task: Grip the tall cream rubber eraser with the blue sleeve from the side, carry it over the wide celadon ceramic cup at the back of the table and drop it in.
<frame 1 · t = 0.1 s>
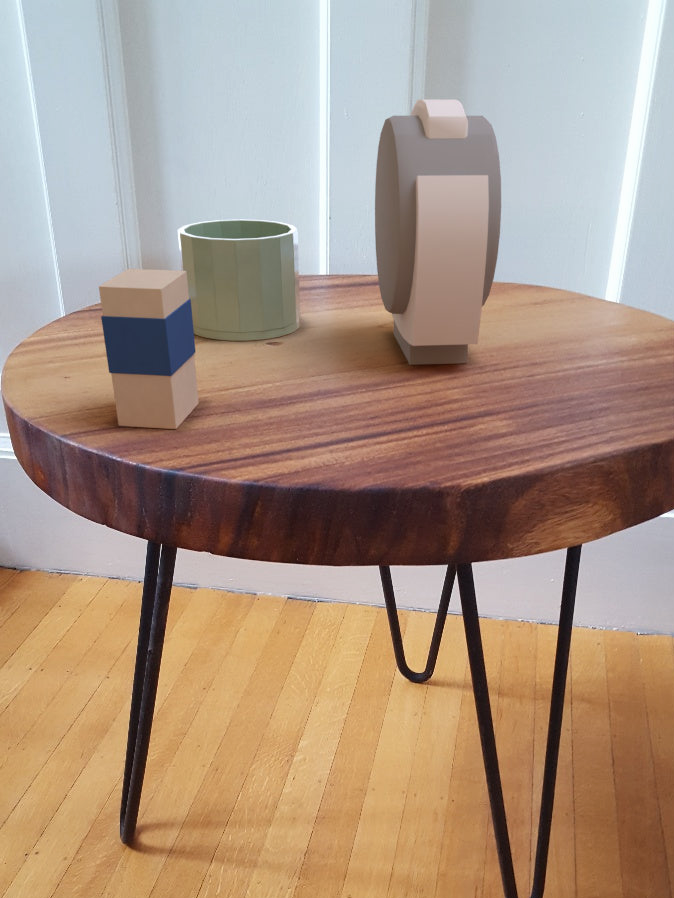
alarm clock: (427, 349, 90), on the table
eraser: (159, 414, 74), on the table
cup: (244, 325, 96), on the table
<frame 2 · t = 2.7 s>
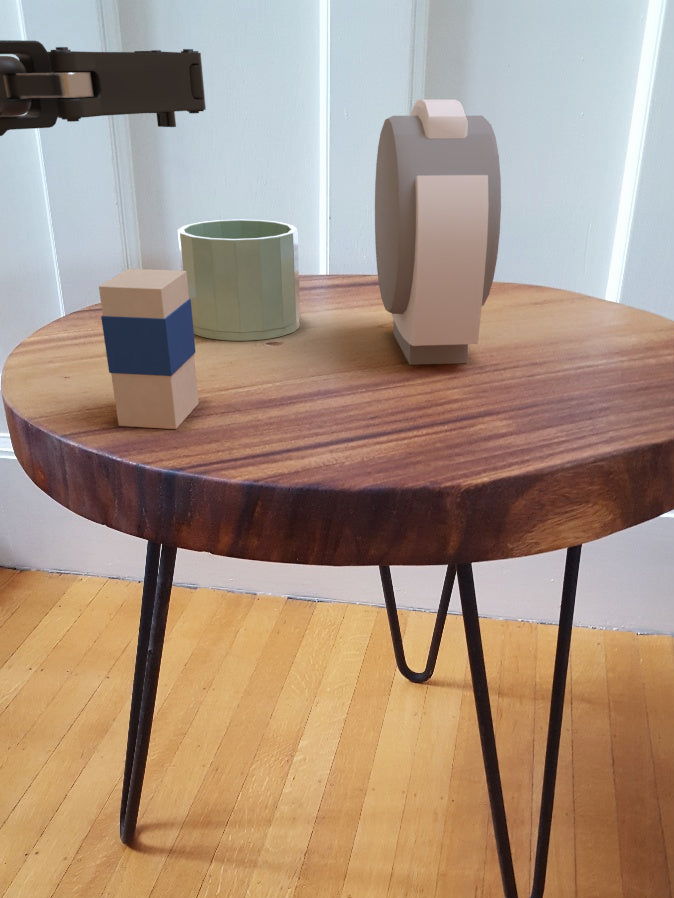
hand: (63, 82, 55), 22 cm above the table, tool horizontal, fingers open, 13 cm apart
nothing on the table moved.
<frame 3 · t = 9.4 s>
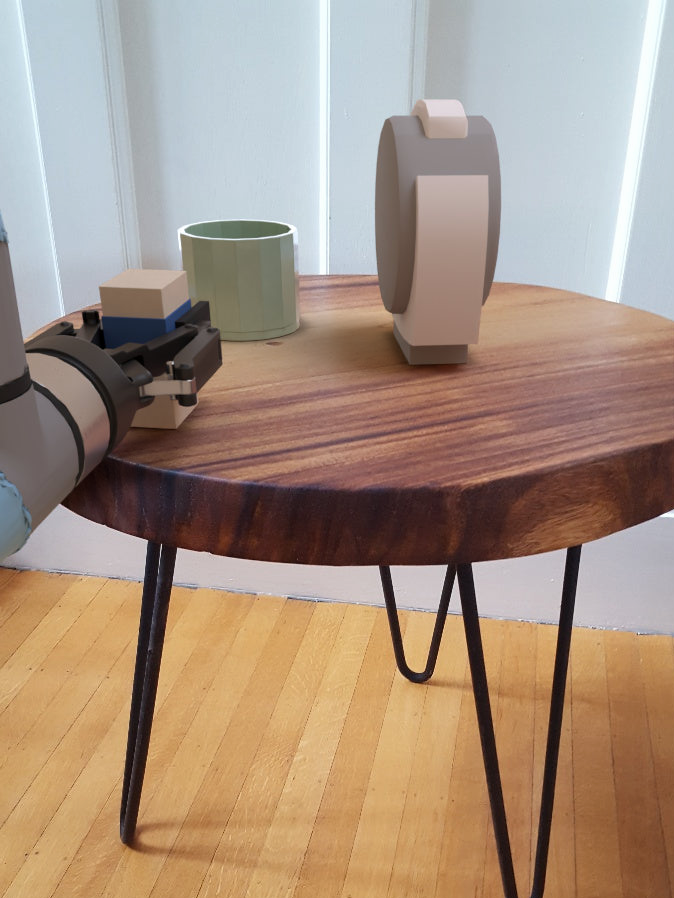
hand: (172, 317, 75), 6 cm above the table, tool horizontal, fingers closed on eraser, 5 cm apart
eraser: (159, 414, 74), on the table, touching gripper
everything else where it was.
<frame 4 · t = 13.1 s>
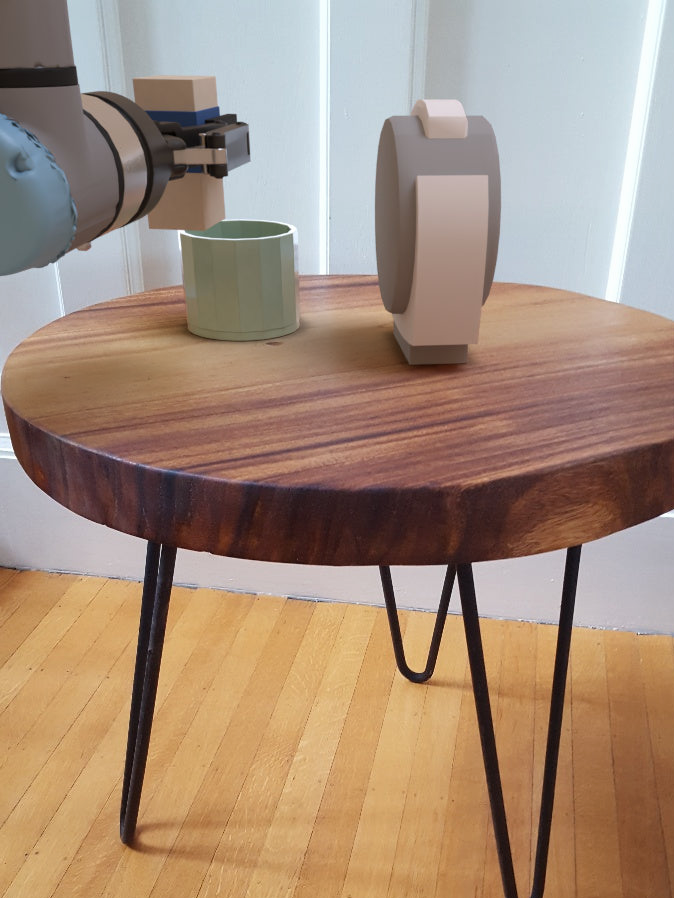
hand: (200, 132, 77), 18 cm above the table, tool horizontal, fingers closed on eraser, 5 cm apart
eraser: (188, 223, 76), point 12 cm above the table, touching gripper
everything else where it was.
when the fingers open (13 cm above the table, at t = 17.1 s): eraser drops 6 cm, resting on cup.
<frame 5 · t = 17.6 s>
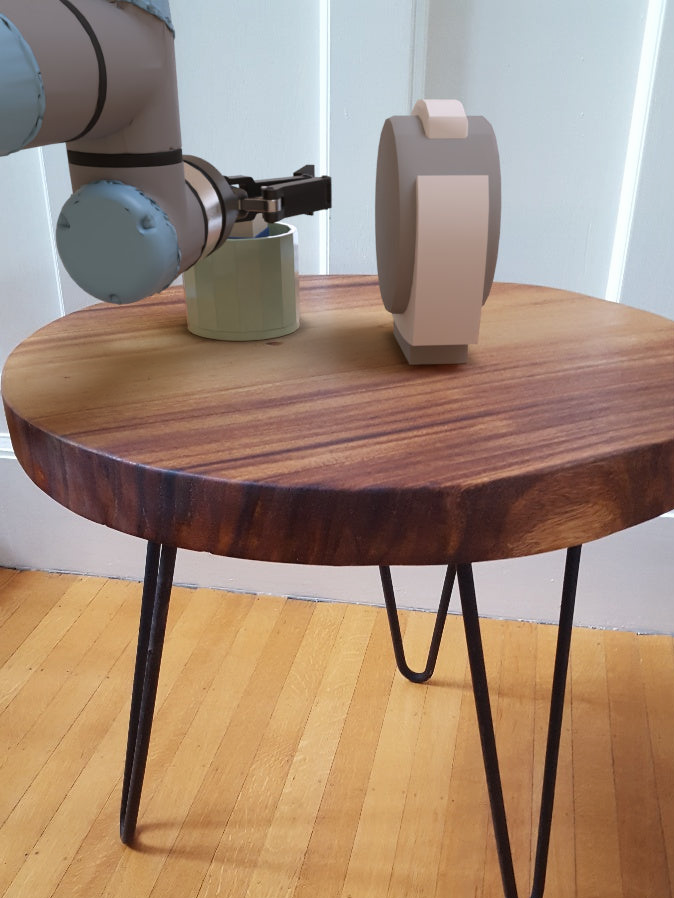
hand: (243, 178, 92), 13 cm above the table, tool horizontal, fingers open, 12 cm apart
eraser: (243, 317, 96), point 1 cm above the table, touching cup
everything else where it was.
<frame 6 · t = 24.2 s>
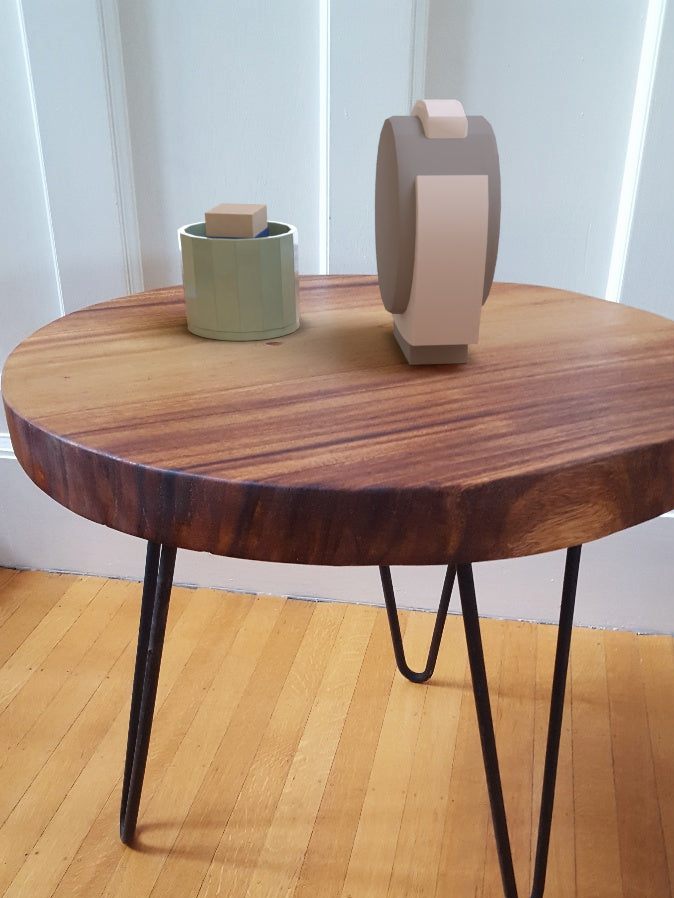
nothing on the table moved.
at the end: eraser inside the target area in the cup (0.0 cm from its centre), point 0.8 cm above the cup's base; the gripper is holding nothing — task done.
